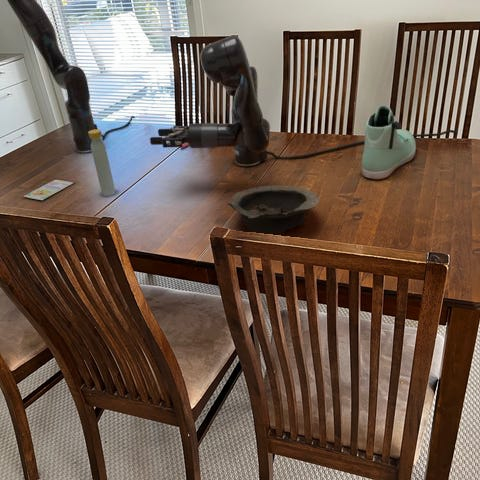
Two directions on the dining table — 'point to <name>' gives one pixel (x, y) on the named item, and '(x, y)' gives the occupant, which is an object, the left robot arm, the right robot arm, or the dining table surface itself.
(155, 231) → the dining table surface
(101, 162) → the bottle
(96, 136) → the cap
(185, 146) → the candy cane
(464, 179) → the dining table surface
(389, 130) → the sneaker
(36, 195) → the baking ingredient package
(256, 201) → the stone bowl
